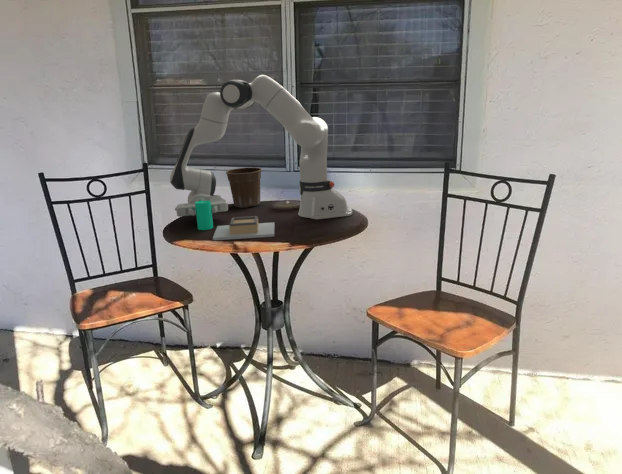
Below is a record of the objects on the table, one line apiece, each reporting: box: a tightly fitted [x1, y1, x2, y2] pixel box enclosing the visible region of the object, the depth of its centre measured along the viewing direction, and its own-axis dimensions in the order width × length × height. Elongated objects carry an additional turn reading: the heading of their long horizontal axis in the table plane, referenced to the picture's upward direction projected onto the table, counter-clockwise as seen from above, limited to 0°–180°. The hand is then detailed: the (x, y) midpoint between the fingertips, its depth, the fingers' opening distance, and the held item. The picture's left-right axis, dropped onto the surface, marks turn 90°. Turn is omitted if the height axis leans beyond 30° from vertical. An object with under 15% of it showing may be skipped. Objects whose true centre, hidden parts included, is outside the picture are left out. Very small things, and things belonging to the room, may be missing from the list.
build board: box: [212, 215, 276, 241], centre depth 188 cm, size 22×16×5 cm
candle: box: [195, 198, 214, 231], centre depth 196 cm, size 6×6×12 cm
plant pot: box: [225, 167, 263, 209], centre depth 231 cm, size 16×16×16 cm
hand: (204, 212), depth 195 cm, fingers open, 6 cm apart
